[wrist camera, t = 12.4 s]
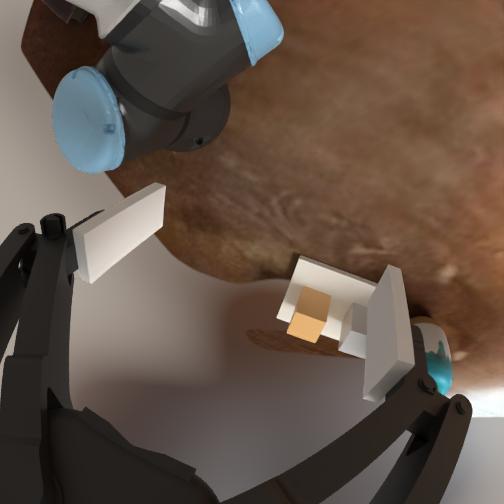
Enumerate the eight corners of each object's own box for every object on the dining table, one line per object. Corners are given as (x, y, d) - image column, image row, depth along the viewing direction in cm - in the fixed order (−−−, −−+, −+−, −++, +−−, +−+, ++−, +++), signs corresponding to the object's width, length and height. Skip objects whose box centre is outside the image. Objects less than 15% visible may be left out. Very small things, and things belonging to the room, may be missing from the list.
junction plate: (278, 313, 56) (266, 343, 49) (300, 254, 49) (290, 282, 42) (362, 343, 53) (360, 375, 47) (397, 291, 46) (401, 322, 39)
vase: (386, 347, 52) (385, 431, 36) (394, 306, 47) (399, 395, 32) (435, 347, 48) (445, 428, 33) (447, 305, 44) (469, 391, 28)
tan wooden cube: (295, 306, 52) (286, 333, 47) (303, 285, 50) (295, 311, 44) (320, 315, 52) (314, 343, 46) (331, 295, 49) (326, 322, 43)
